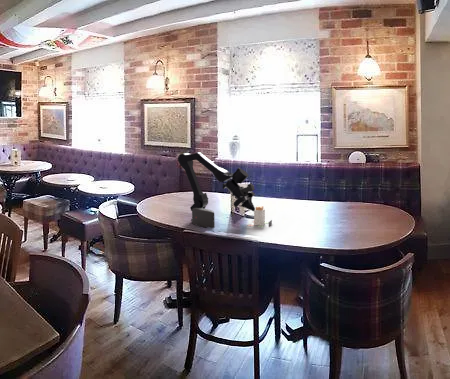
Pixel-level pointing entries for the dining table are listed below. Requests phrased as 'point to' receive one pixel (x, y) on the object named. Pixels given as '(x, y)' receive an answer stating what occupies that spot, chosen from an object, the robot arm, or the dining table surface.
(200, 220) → the leaning round-cornered charcoal block
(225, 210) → the dining table surface
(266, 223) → the switch board
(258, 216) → the white bottle
